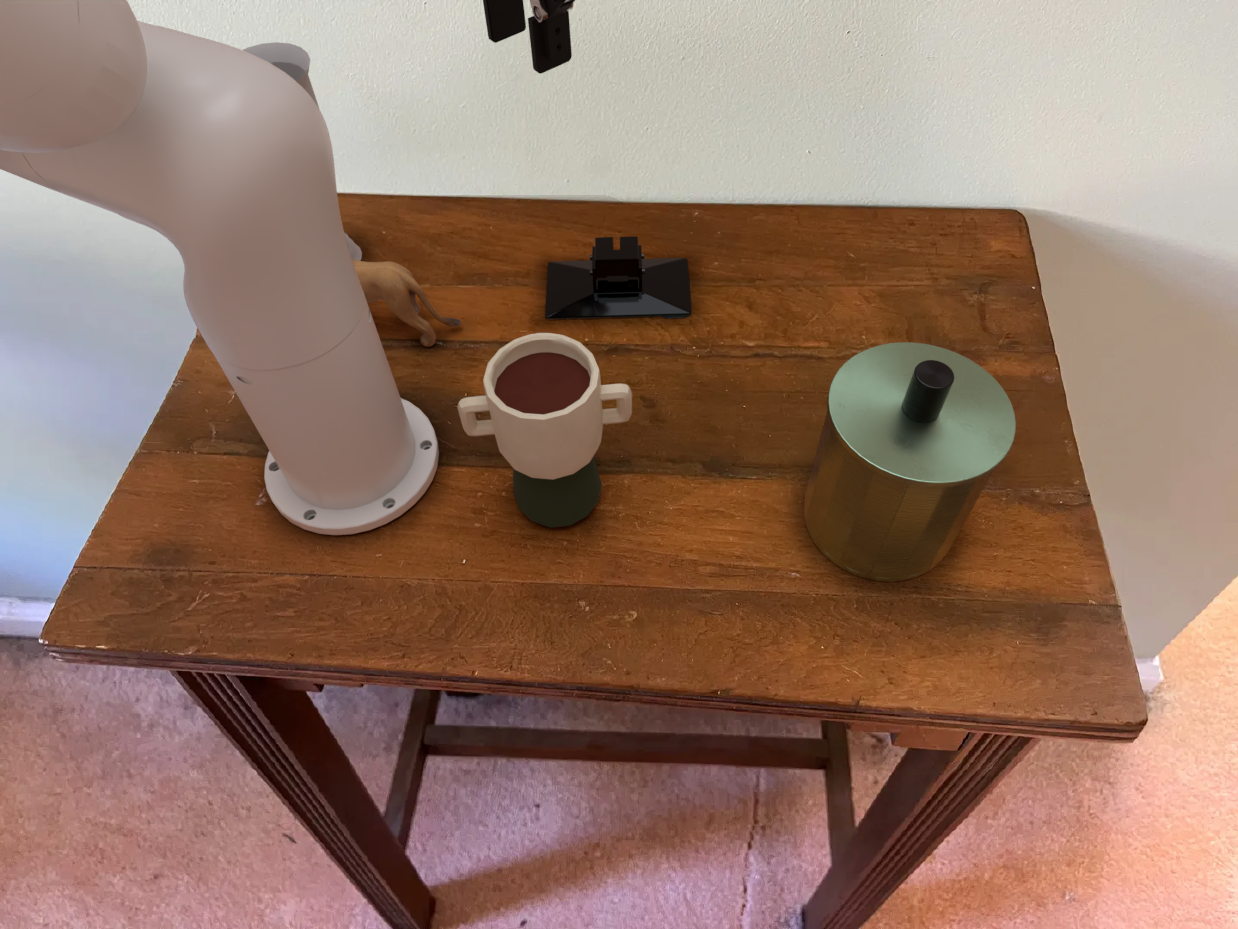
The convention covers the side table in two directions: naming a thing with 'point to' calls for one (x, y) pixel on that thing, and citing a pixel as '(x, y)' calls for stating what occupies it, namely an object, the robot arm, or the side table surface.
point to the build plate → (618, 284)
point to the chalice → (297, 67)
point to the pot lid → (921, 414)
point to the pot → (880, 515)
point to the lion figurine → (399, 295)
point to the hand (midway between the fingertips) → (529, 47)
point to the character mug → (548, 423)
